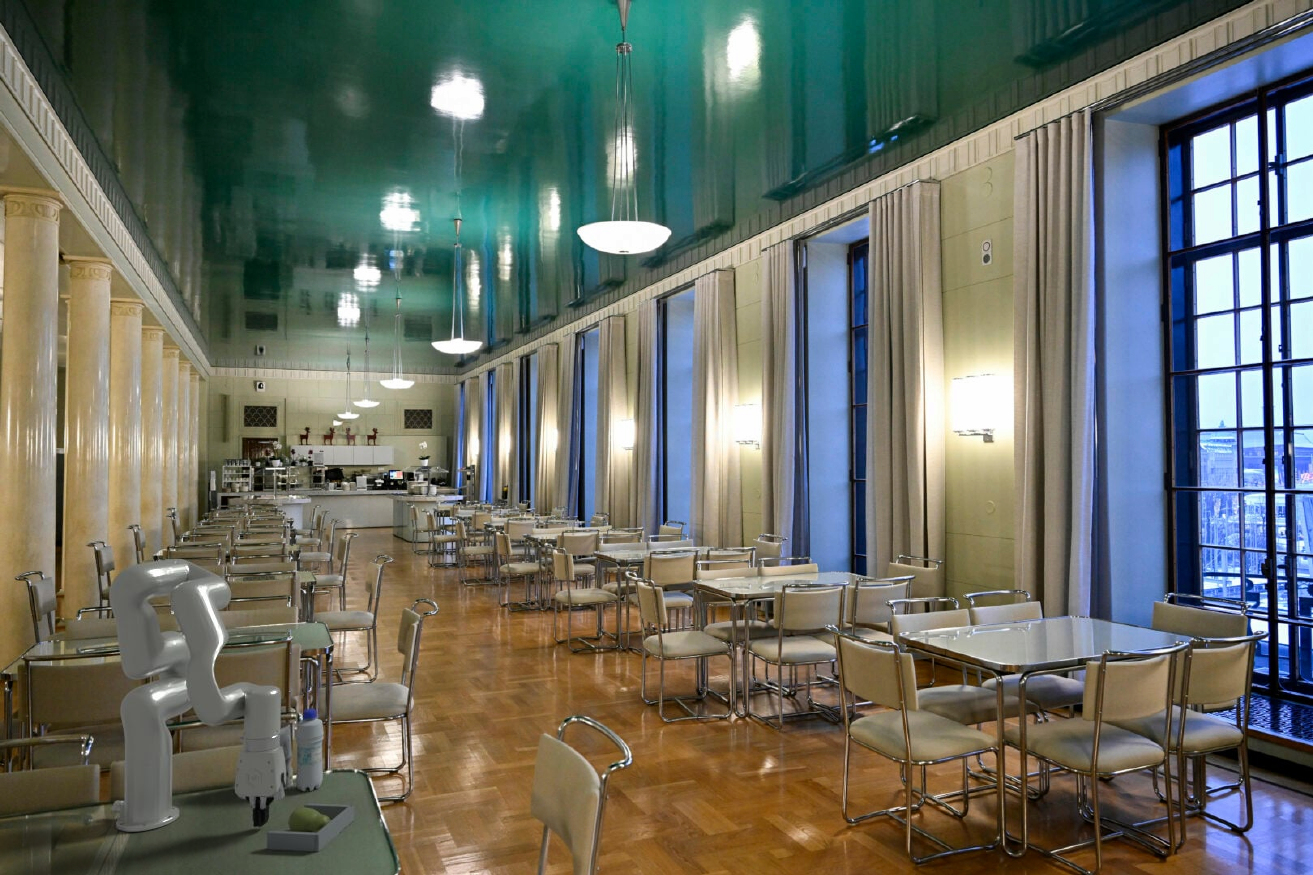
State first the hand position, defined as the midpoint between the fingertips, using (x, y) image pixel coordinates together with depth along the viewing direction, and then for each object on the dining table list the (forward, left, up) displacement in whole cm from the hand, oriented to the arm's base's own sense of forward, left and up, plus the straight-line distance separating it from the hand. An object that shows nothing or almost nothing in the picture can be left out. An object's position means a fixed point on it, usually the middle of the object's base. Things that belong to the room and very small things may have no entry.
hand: (260, 824), depth 192 cm
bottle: (-2, +25, -2) cm, 25 cm away
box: (+13, -1, -1) cm, 13 cm away
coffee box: (-12, +24, -2) cm, 27 cm away
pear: (+12, 0, -2) cm, 12 cm away
